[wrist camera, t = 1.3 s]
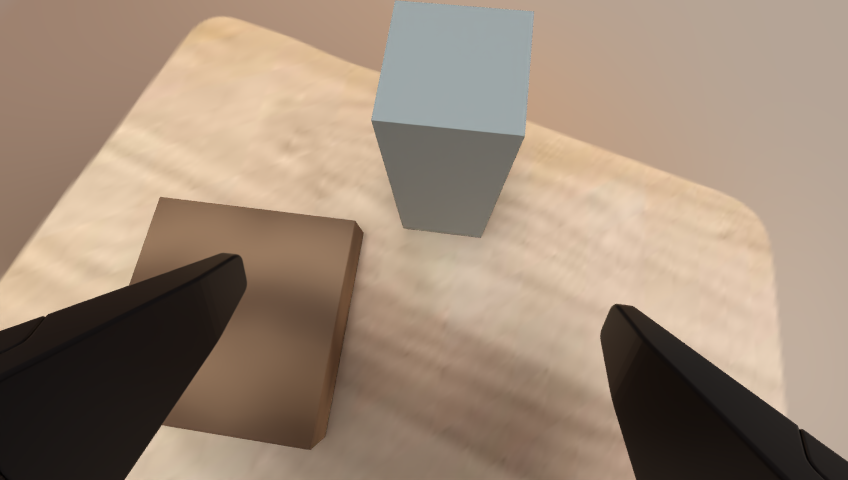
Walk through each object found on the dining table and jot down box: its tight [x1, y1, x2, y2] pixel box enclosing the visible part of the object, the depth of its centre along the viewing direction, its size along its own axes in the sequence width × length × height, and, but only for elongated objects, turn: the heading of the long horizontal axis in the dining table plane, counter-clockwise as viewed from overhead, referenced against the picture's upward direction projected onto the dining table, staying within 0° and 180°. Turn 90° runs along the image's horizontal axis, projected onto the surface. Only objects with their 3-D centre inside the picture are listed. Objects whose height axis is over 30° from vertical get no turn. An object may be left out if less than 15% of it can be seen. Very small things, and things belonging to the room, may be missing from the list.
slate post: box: [371, 1, 534, 238], centre depth 18 cm, size 5×5×12 cm
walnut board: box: [129, 197, 363, 450], centre depth 21 cm, size 12×12×2 cm
